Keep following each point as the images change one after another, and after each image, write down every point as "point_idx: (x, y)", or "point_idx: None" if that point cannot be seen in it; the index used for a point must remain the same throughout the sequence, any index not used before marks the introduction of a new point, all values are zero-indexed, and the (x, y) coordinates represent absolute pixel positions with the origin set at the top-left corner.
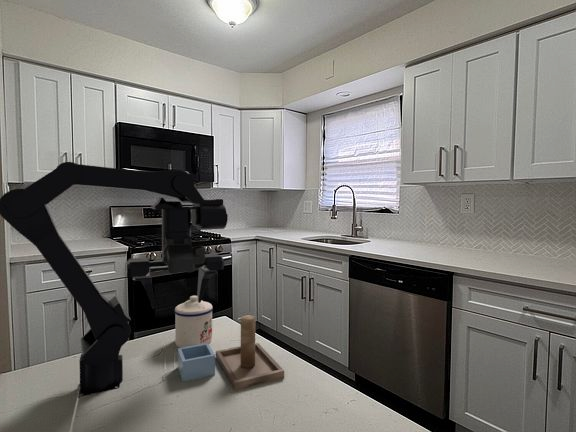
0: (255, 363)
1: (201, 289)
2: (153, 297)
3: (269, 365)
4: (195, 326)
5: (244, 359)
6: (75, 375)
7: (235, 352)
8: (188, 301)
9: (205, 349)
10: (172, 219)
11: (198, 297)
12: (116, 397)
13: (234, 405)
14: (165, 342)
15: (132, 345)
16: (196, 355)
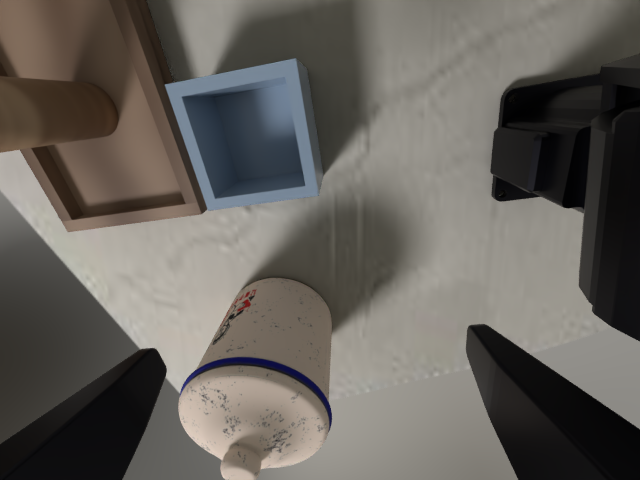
0: None
1: (32, 444)
2: (539, 397)
3: None
4: (256, 326)
5: (75, 87)
6: None
7: (144, 206)
8: (268, 453)
9: (223, 193)
10: None
11: (134, 385)
12: (512, 49)
13: None
14: (358, 342)
15: (444, 350)
16: (258, 184)
